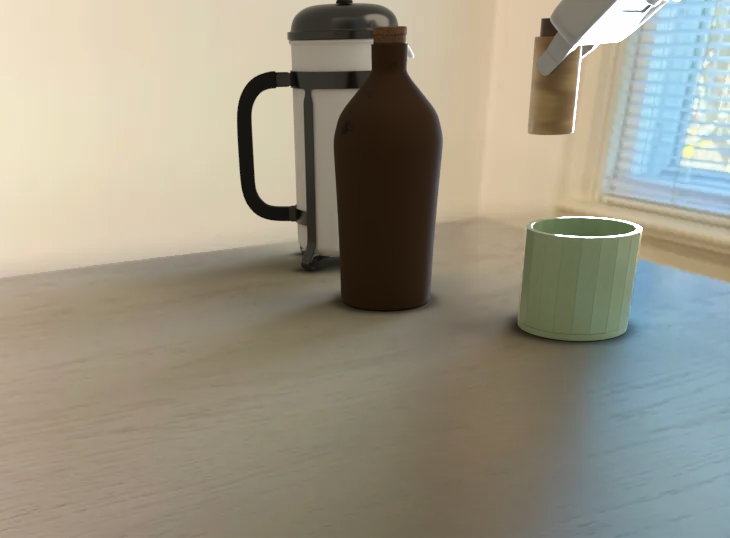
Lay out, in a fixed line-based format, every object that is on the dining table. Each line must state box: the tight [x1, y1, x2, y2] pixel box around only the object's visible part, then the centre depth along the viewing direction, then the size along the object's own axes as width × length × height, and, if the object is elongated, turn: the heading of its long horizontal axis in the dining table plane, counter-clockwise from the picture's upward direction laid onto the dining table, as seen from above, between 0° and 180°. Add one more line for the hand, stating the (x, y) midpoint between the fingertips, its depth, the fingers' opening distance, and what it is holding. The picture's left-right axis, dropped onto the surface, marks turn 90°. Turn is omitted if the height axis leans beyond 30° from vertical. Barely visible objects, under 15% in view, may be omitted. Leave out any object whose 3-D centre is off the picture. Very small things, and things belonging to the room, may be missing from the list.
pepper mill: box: [527, 17, 582, 136], centre depth 92 cm, size 5×5×12 cm
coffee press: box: [236, 0, 415, 272], centre depth 103 cm, size 17×16×30 cm
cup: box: [517, 216, 644, 342], centre depth 82 cm, size 10×10×9 cm
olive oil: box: [333, 25, 444, 311], centre depth 88 cm, size 11×11×25 cm
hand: (550, 69), depth 92 cm, fingers closed on pepper mill, 5 cm apart
